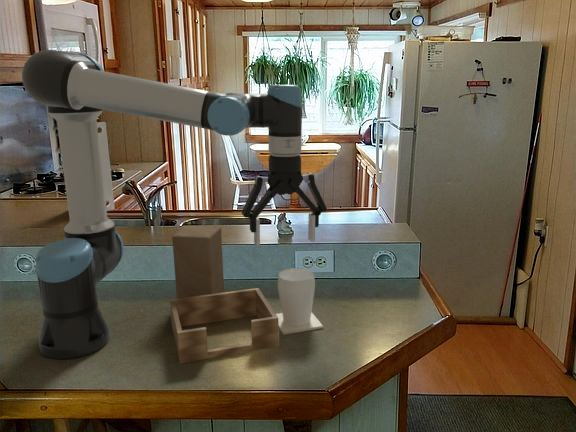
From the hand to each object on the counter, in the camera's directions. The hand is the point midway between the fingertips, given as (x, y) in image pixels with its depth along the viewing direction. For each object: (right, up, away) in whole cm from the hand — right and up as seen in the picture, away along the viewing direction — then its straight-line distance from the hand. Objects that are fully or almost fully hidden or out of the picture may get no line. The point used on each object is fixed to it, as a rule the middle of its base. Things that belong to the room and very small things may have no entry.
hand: (284, 242), depth 125 cm
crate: (-14, -22, -2) cm, 26 cm away
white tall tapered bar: (-91, +9, +115) cm, 147 cm away
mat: (+3, -20, +4) cm, 20 cm away
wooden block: (-23, -17, +17) cm, 33 cm away
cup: (+3, -20, +4) cm, 20 cm away
